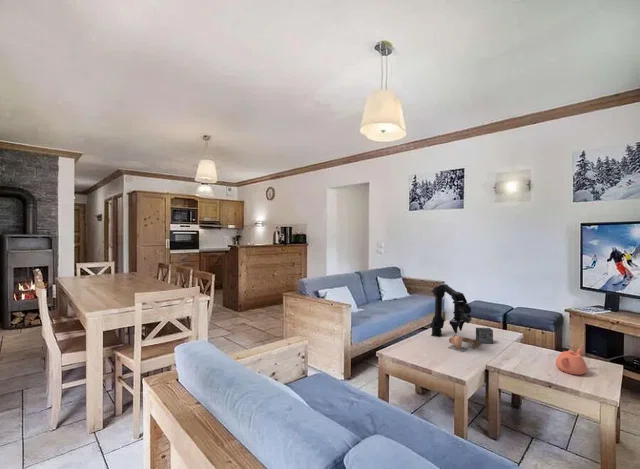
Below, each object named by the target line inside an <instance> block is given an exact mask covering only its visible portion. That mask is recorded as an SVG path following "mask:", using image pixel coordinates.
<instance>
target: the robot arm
mask: <svg viewBox="0 0 640 469" xmlns="http://www.w3.org/2000/svg"><path fill="white" fill-rule="evenodd" d="M445 293H446V294H448V295H449V296H450V297H451V299H452V300H453V301H452V304H453V306H454V307H453V312H452V313H453V317H452V319H450V320H449V322H448V323H449V324H448V325H450V326H451V327H452V331H453V332H454V335H457V334H458V329H459V331H461V332H462V330H463V328H464V327H463V326H464V324H469V323H471V320H473V319H472V316H471V312H472V308H471V307H470V306H469V303H468V302H467V299H466V296H465V295H464V293H462V292H461V291H456V290H455V289H453V288H452V287H451V286H449V285H448V284H445V283H444V284H440V285H438V286H436V287H433V289H432V294H433V296H434V298H435V303H434V316H433V318H432V320H431V323H430V324H429V327H430V328H431V335H430V336H433V337H437V338H440V337H442V335H443V334H442V332H443V331H442V329H443V328H444V324H445V319H444V318H443V315H442V313H443V310H442V308H443V298H444V297H445Z"/></svg>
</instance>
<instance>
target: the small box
mask: <svg viewBox="0 0 640 469" xmlns="http://www.w3.org/2000/svg"><path fill="white" fill-rule="evenodd" d="M475 340H479V341H480V344H485V345H486V344H490V345H494V330H493V329H492V328H491V327H475Z"/></svg>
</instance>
